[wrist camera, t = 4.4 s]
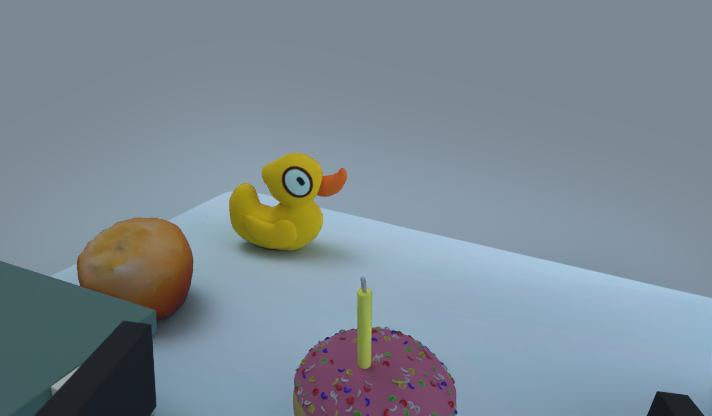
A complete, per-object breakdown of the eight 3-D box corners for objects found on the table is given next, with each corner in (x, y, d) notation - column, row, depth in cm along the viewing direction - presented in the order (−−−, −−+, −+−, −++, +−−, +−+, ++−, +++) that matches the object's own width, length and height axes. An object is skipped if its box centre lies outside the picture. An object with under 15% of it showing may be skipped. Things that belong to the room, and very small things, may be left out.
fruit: (227, 267, 41) (197, 210, 35) (181, 353, 36) (138, 304, 30) (147, 248, 43) (105, 191, 37) (94, 328, 38) (36, 277, 32)
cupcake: (379, 571, 21) (418, 345, 16) (254, 455, 26) (259, 257, 21) (469, 452, 27) (514, 267, 23) (355, 378, 32) (375, 213, 28)
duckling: (339, 239, 52) (348, 151, 48) (339, 263, 47) (348, 166, 43) (235, 232, 51) (235, 141, 48) (223, 254, 46) (223, 155, 43)
